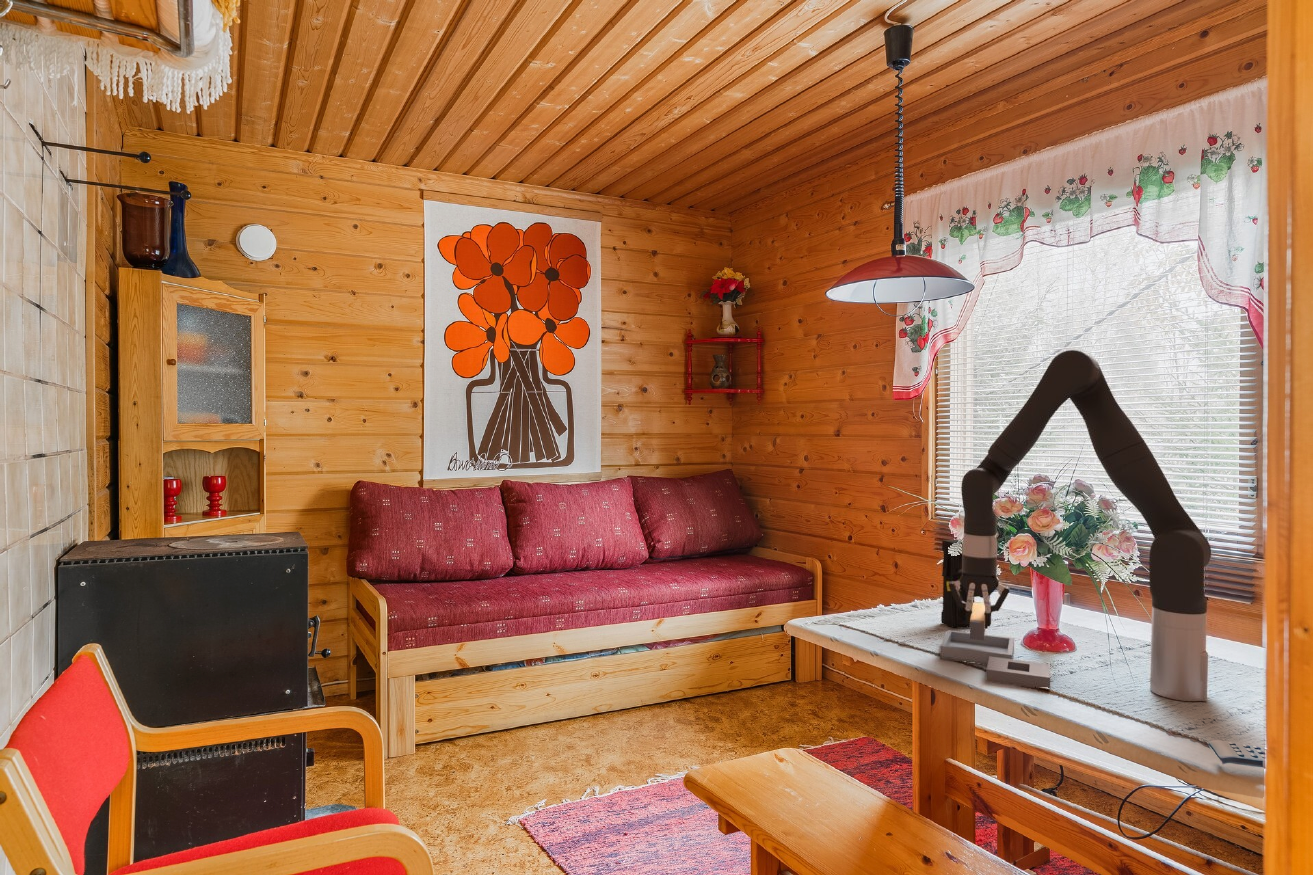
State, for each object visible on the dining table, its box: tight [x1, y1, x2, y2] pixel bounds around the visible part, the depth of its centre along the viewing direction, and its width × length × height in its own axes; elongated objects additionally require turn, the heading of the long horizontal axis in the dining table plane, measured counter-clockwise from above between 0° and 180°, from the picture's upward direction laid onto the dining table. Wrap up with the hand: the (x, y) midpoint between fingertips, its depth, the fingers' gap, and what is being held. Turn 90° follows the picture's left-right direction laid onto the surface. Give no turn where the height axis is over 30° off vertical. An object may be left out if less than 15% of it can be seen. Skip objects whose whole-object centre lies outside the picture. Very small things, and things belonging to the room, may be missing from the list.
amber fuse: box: [969, 601, 987, 640], centre depth 186 cm, size 3×4×9 cm
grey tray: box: [939, 630, 1015, 666], centre depth 186 cm, size 15×15×3 cm
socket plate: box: [986, 656, 1051, 689], centre depth 169 cm, size 12×10×2 cm
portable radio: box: [940, 539, 975, 629], centre depth 211 cm, size 8×6×25 cm
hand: (978, 626), depth 186 cm, fingers closed on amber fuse, 2 cm apart
